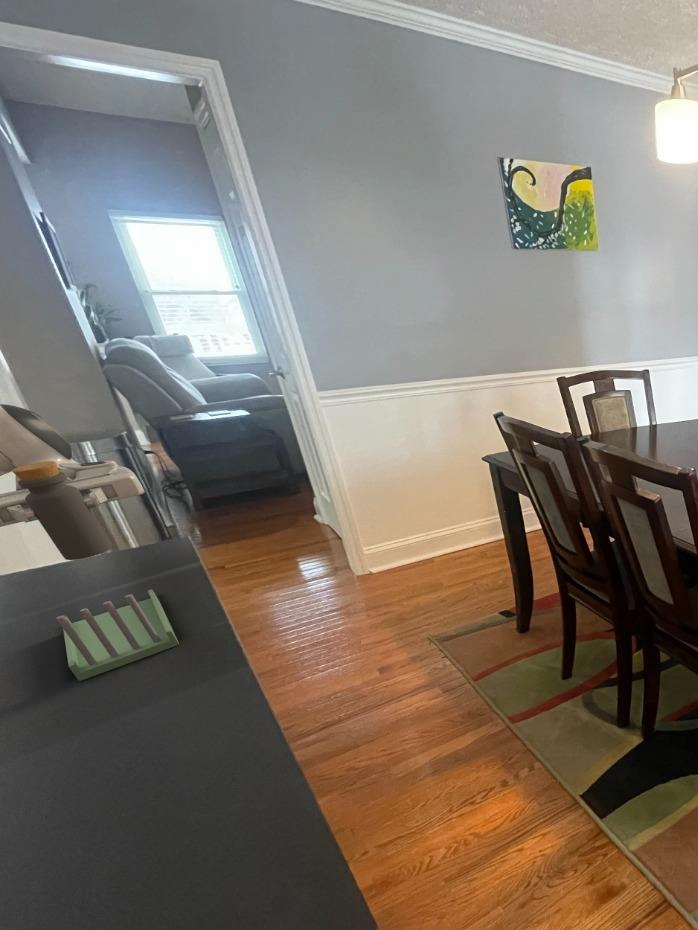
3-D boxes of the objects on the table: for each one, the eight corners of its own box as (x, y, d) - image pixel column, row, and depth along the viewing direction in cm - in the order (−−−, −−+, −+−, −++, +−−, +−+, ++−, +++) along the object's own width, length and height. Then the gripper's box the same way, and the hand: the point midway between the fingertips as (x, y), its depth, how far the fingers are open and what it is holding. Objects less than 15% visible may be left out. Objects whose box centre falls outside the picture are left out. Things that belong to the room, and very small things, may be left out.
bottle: (55, 559, 97) (-5, 471, 89) (97, 543, 102) (44, 459, 94) (81, 562, 95) (22, 473, 88) (122, 545, 100) (70, 460, 93)
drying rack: (79, 681, 83) (39, 627, 79) (70, 631, 95) (35, 581, 91) (179, 644, 91) (148, 593, 86) (159, 602, 103) (131, 555, 98)
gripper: (-49, 491, 94) (-54, 512, 86) (125, 457, 107) (135, 472, 99) (-23, 527, 97) (-25, 550, 89) (143, 490, 110) (154, 507, 102)
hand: (61, 509), depth 94 cm, fingers closed on bottle, 5 cm apart
